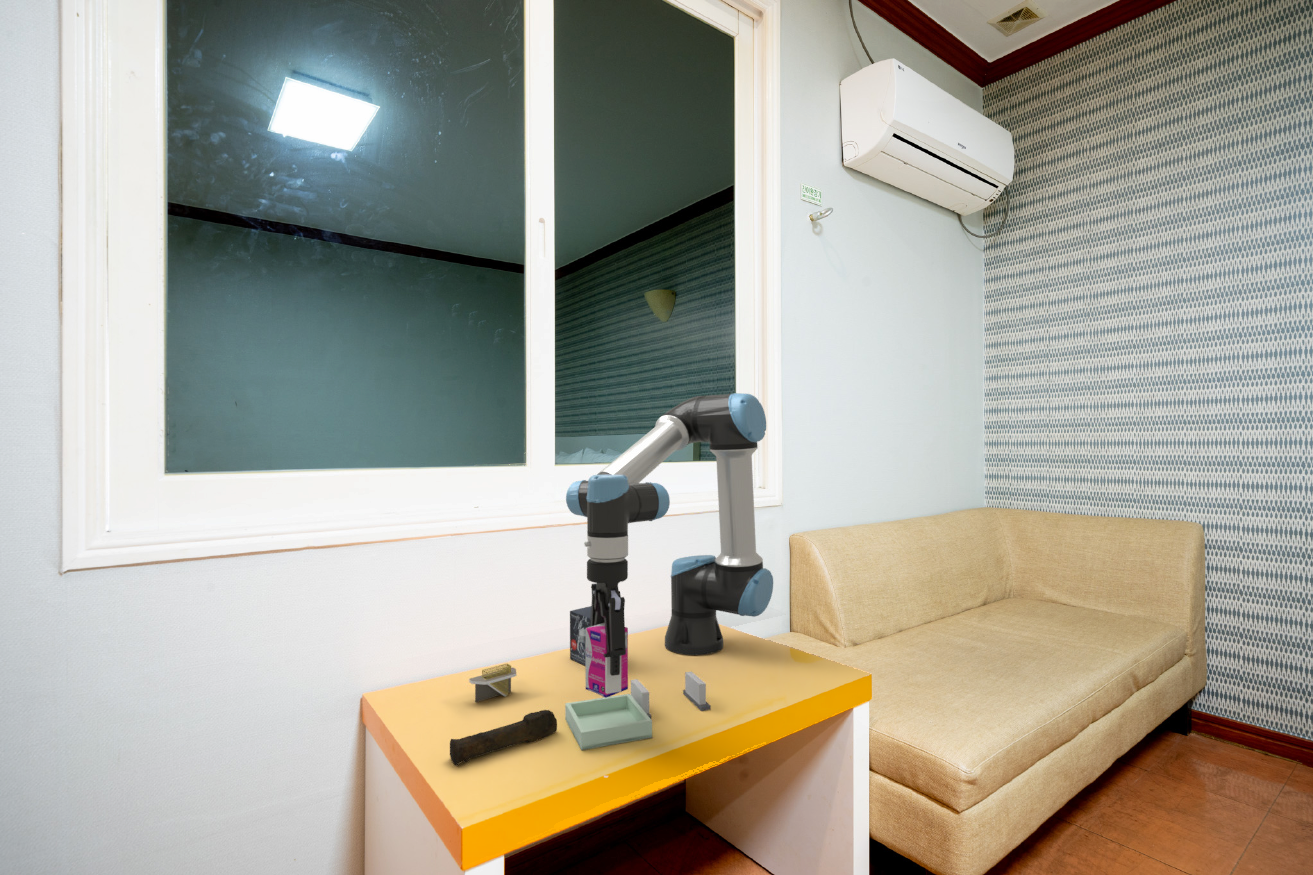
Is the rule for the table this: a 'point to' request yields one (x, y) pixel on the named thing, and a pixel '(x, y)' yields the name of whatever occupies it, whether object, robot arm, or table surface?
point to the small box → (579, 633)
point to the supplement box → (601, 660)
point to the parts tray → (607, 721)
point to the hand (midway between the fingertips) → (606, 683)
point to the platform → (493, 682)
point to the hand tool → (504, 736)
